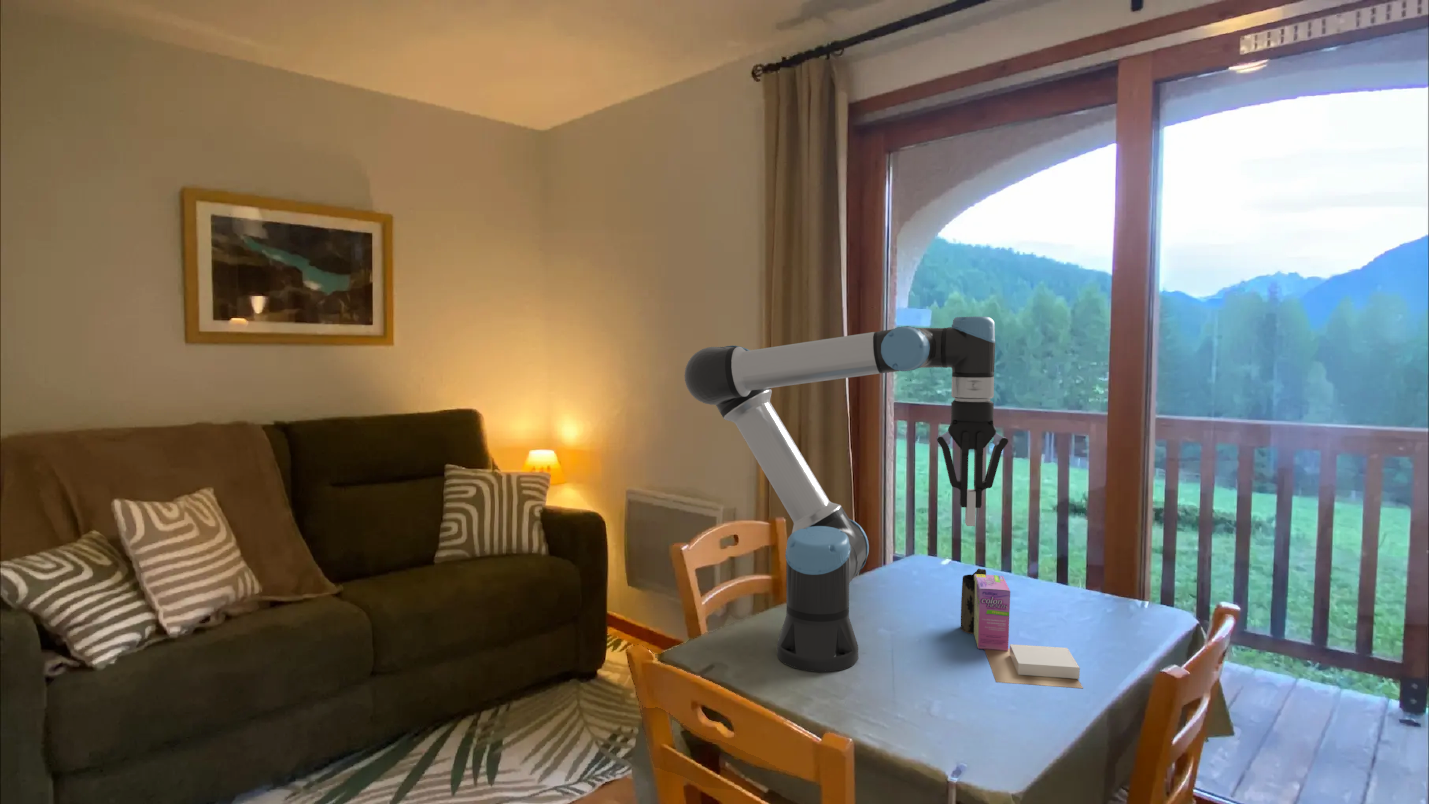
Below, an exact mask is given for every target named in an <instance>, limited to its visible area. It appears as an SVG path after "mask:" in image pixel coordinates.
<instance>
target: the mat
mask: <svg viewBox="0 0 1429 804" xmlns="http://www.w3.org/2000/svg"><path fill="white" fill-rule="evenodd" d="M983 650H984V653H985V655H986V657H987V658H986V659H987V661H988V663H989V667H990V669H991V672H992V675H993V677H994V680H995V683H1001V684H1016V685H1017V684H1018V685H1028V686H1043V687H1056V688H1071V689H1084V687H1083V685H1082V684H1081V682H1080V680H1079V679H1072V678H1058V677H1044V676H1030V675H1018V673H1017V670H1016V668H1015V666H1014V663H1013V661H1012V659H1011V657H1010V648H1008V651H998V650H986V649H983Z"/></svg>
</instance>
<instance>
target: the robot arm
mask: <svg viewBox="0 0 1429 804" xmlns="http://www.w3.org/2000/svg"><path fill="white" fill-rule="evenodd" d="M995 331H996V329H995V321H994V320H993V319H992V318H991V317H989V316H957V317H954V318H953V319H952V324H951V326H949V327H915V326H910V325H906V326H897V327H895V328H891V329H885V330H879V331H872V332H864V333H858V334H852V335H845V336H844V335H843V336H838V337H830V338H823V339H818V340H811V341H803V342H798V343H792V344H784V345H779V346H771V347H764V348H757V349H748V348H745V347H743V346H738V345H725V346H708V347H705V348H701V349H700V350H698V351H697V352H695V353H693V355H692V356H691V357H690V358H689V360H688V361H687V363H686V365H685V368H684V383H685V386H686V388H687V390H688V392H689V393H690V394H691V396H692V397H693V398H694V399H695V400H697V401H699V402H700V403H703V404H705V405H711V406H712V405H713V406H715V407H716V408H717V410H718V412H719V413H720V415H721V417H722V419H724V420H725V421H729V422H732V423H733V424H735V425H736V427H737V429H738V432H739V433H740V434H741V437H743V439H744V441H745V442H746V444H747V447H748V448H749V450H750V451H751V453H752V455H753V456H754V458H755V459H756V461H757V463H758V465H759V466H760V468H761V470H762V471H763V473H764V475H765V476H766V478H767V480H768V481H769V483H770V485H771V486H772V488H773V490H774V492H775V493H776V495H777V497H778V498H779V500H780V502H781V503H782V505H783V507H784V509H785V510H786V512H787V514H788V515H789V518H791V520H792V522H793V526H792V530H791V534H790V535H789V536H788V538H787V541H786V549H785V555H784V556H785V560H786V566H785V567H786V572H785V573H786V575H785V576H786V584H785V586H786V587H785V588H786V590H785V591H786V614H785V618H784V620H783V623H782V626H781V630H780V633H779V636H778V639H777V643H776V656H777V659H778V660H780V662H781V663H783V664H785V665H786V666H788V667H792V668H794V669H797V670H801V671H807V672H817V673H819V672H820V673H822V672H823V673H824V672H837V671H842V670H845V669H848V668H851V667H852V666H854V665H855V664H856V663H857V662H858V661H859V645H858V642H857V638H856V635H855V631H854V628H853V625H852V623H851V619H850V582H852V580H853V579H854V578H855V576H857V575H858V574H859V573H860V572H861V571H862V570H863V568H864V566H865V565H866V562H867V559H868V555H869V550H870V545H869V543H870V542H869V540H868V539H869V538H868V536H867V534H866V532H865V531H864V529H863V527H862V526H861V525H860V524H859V523H857V522H856V521H855V520H853V519H850V518H849V516H848V515H847V513H846V511H845V510H844V508H843V507H842V505H841V504H838V503H836V502H832V501H830V500H829V497H828V495H827V494H826V492H825V491H824V489H823V488H822V486H821V484H820V483H819V481H818V479H817V478H816V476H815V474H814V473H813V471H812V469H811V467H810V466H809V465H808V463H807V461H806V459H805V458H804V455H802V453H801V451H800V450H799V447H798V446H797V445H796V443H795V441H794V439H793V438H792V436H791V434H790V433H789V431H788V430H787V427H786V426H785V424H784V423H783V421H782V420H781V417H779V414H778V413H777V411H776V409H775V408H774V406H773V405H772V402H771V398H772V397H771V396H772V392H773V391H772V389H773V388H779V387H787V386H793V385H794V386H795V385H801V384H809V383H818V382H824V381H833V380H839V379H840V380H841V379H847V378H849V379H850V378H855V377H864V376H869V375H877V374H887V373H896V372H909V371H914V370H916V369H919V368H921V369H923V368H925V369H926V368H933V369H934V368H944V369H945V368H951V372H952V373H951V397H952V398H953V399H954V400H952V401H951V403H950V404H951V409H950V415H951V416H950V424H949V426H948V427H947V431H946V432H945V433H943V434H941V435H940V434H939V435H937V436H936V438H935V439H936V442H937V443H938V444H939V446H940V448H941V451H942V454H943V458H944V462H945V463H944V464H945V468H946V471H947V476H948V481H949V483H950V485H951V487H953V488H956V489H958V490H959V504H960V507H961V508H964V509H965V510H964V511H965V513H964V514H965V515H964V518H965V519H964V521H965V522H964V523H965V525H966V527H975V526H976V509H977V508H979V509H980V508H981V507H982V506H983V505H982V504H983V503H982V501H983V499H982V498H983V497H982V495H983V491H984V490H987V489H991V488H992V487H993V485H994V481H995V477H996V474H997V470H998V468H999V463H1000V459H1001V456H1002V453H1003V450H1004V448H1005V447H1006V446H1007V444H1008V443H1009V439H1008V438H1007V437H1006V436H1003V435H1001V434H999V433H998V432H997V429H996V426H995V425H994V412H995V411H994V407H995V406H994V402H993V400H992V401H991V399H993V398H994V397H995V360H996V359H995V357H996V332H995ZM951 438H952V440H953V441H954V443H955V444H956V445H957V446H958V448H959V452H960V457H959V480H958V479H957V474H956V471H955V470H956V469H955V467H954V466H955V465H954V462H953V458H952V457H953V456H952V453H951V450H950V446H949V445H950V444H951ZM992 439H993V440H992ZM991 441H992V444H993V445H994V446H993V449H992V451H991V456H990V459H989V463H988V465H987V470H986V473H985V477H984V480H983V473H984V472H983V471H984V470H983V469H984V468H983V465H984V464H983V461H984V449H985V448H986V447H987V445H988V444H989V443H990V442H991ZM969 450H973V453H974V458H973V461H974V462H973V463H974V464H973V487H974V488H969V486H968V485H969V482H968V481H969V455H970V451H969Z"/></svg>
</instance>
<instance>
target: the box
mask: <svg viewBox="0 0 1429 804" xmlns="http://www.w3.org/2000/svg"><path fill="white" fill-rule="evenodd" d="M974 581H975V605H974V634H973V636H974V638H975V642H976V646H977V649H979V650H984V649H986V650H998V651H1008V649H1009V642H1010V641H1009V637H1010V633H1009V632H1010V611H1011V610H1010V609H1011V608H1010V607H1011V590H1010V587H1009V586H1008V584H1007V581H1006V579H1005V577H1004V575H997V574H995V575H994V574H986V575H983V574H975V575H974Z"/></svg>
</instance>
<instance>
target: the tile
mask: <svg viewBox="0 0 1429 804" xmlns="http://www.w3.org/2000/svg"><path fill="white" fill-rule="evenodd" d="M1068 648H1069V647H1056V646H1043V645H1026V644H1011V643H1009V649H1010V657H1011V659H1012V661H1013V663H1014V666H1015V668H1016V670H1017V673H1018V675H1030V676H1044V677H1058V678H1072V679H1078V680H1079V679H1080V674H1081V673H1080V670H1081V668H1080V666H1079V665H1078V663H1077V660H1076V659H1075V658H1074V656H1073V654H1072V653H1071V652H1070V649H1068Z"/></svg>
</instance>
